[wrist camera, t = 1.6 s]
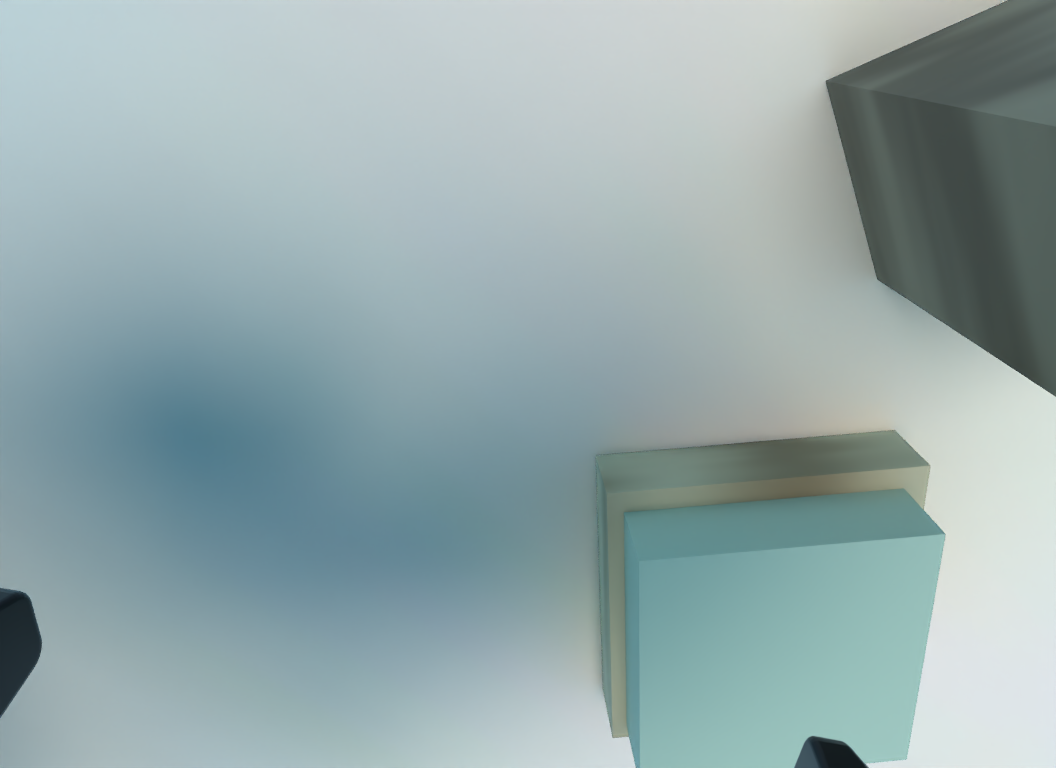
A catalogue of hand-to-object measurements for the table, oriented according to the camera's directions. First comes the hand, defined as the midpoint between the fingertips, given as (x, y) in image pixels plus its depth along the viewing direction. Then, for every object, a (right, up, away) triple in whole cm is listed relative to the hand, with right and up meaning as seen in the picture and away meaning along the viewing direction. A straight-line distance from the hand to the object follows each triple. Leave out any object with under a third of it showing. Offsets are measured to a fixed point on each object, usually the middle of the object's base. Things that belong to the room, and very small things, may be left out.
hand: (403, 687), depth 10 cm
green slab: (+7, -3, +13) cm, 15 cm away
